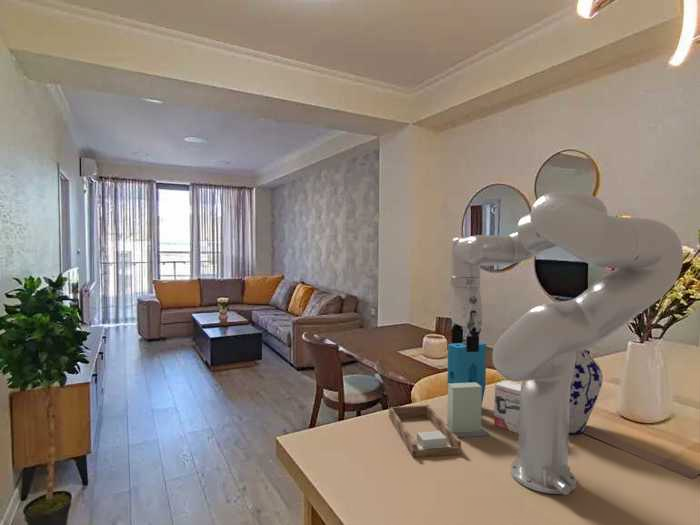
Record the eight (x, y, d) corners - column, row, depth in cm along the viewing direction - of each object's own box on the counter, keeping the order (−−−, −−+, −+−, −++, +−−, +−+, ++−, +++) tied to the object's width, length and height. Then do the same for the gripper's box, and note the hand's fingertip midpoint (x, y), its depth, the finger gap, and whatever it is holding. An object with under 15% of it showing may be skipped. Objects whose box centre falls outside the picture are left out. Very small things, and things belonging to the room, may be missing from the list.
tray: (460, 454, 98) (460, 441, 97) (412, 457, 96) (413, 444, 96) (428, 415, 120) (428, 405, 120) (389, 417, 119) (389, 407, 118)
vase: (610, 447, 101) (613, 326, 100) (526, 435, 108) (529, 321, 107) (592, 417, 119) (594, 315, 118) (521, 409, 126) (523, 311, 125)
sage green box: (480, 431, 109) (481, 386, 109) (452, 432, 108) (452, 387, 108) (475, 425, 113) (475, 382, 112) (447, 427, 111) (447, 383, 111)
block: (474, 402, 130) (475, 340, 130) (486, 408, 126) (487, 343, 125) (445, 409, 124) (446, 344, 124) (457, 415, 120) (458, 348, 119)
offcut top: (446, 446, 99) (446, 437, 98) (423, 448, 97) (423, 440, 97) (439, 438, 102) (439, 430, 102) (416, 440, 101) (416, 432, 101)
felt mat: (489, 435, 107) (489, 433, 107) (449, 438, 106) (449, 436, 106) (476, 423, 115) (476, 422, 115) (439, 425, 113) (439, 424, 113)
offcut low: (451, 455, 98) (451, 447, 98) (419, 457, 97) (419, 449, 97) (443, 445, 103) (443, 437, 103) (412, 447, 102) (412, 439, 102)
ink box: (493, 425, 114) (493, 383, 113) (501, 420, 117) (502, 379, 117) (523, 435, 108) (524, 391, 107) (531, 430, 111) (532, 386, 111)
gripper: (494, 286, 101) (493, 354, 102) (464, 280, 118) (464, 339, 119) (465, 286, 100) (464, 355, 101) (440, 281, 117) (439, 340, 118)
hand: (464, 347), depth 110 cm, fingers open, 9 cm apart
